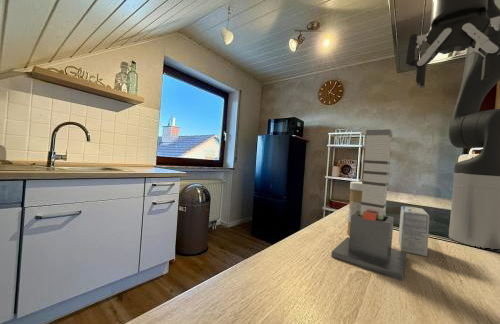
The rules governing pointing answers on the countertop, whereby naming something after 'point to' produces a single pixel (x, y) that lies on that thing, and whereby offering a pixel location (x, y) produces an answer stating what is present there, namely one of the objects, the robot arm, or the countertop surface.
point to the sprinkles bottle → (354, 200)
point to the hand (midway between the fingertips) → (451, 83)
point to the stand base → (372, 245)
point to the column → (376, 172)
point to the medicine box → (413, 230)
